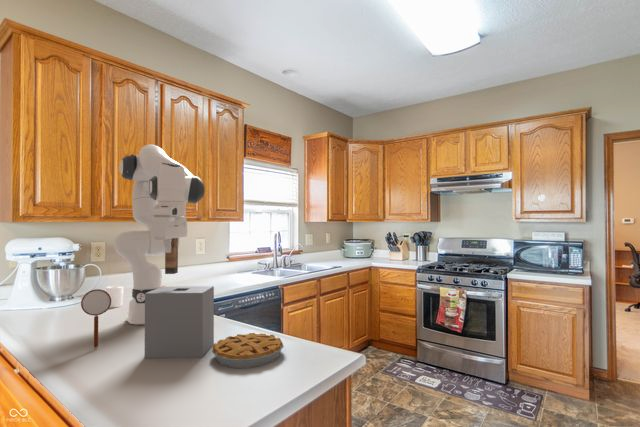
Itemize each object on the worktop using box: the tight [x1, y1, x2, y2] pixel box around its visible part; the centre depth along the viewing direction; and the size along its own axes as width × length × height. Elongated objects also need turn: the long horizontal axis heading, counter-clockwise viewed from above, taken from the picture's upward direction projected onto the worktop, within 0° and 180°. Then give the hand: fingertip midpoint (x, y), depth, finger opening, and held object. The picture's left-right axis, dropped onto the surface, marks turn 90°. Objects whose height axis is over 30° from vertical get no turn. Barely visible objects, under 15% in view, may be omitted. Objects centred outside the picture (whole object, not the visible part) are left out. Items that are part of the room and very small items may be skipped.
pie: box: [211, 332, 285, 369], centre depth 112 cm, size 22×22×5 cm
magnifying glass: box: [80, 288, 111, 351], centre depth 119 cm, size 9×2×20 cm, turn 114°
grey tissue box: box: [144, 285, 215, 359], centre depth 117 cm, size 12×18×20 cm, turn 90°
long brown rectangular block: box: [164, 225, 179, 275], centre depth 119 cm, size 3×3×16 cm
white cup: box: [105, 285, 125, 309], centre depth 183 cm, size 8×8×10 cm
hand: (171, 252), depth 119 cm, fingers closed on long brown rectangular block, 3 cm apart
